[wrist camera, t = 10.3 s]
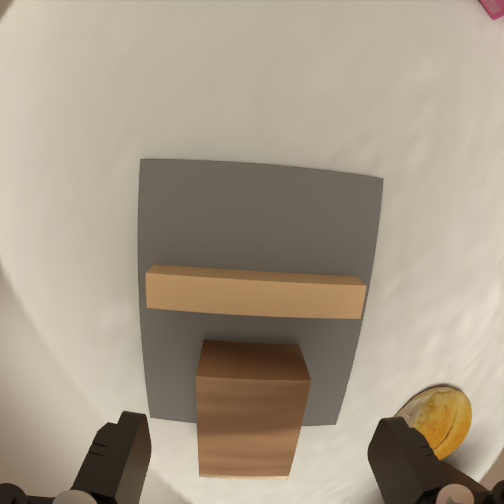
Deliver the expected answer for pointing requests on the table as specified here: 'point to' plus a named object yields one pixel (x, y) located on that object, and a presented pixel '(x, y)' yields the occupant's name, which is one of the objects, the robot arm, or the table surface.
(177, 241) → the mat
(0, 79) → the table surface
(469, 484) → the plant pot
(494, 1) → the gum box
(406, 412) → the bread roll
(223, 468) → the brown wooden block
